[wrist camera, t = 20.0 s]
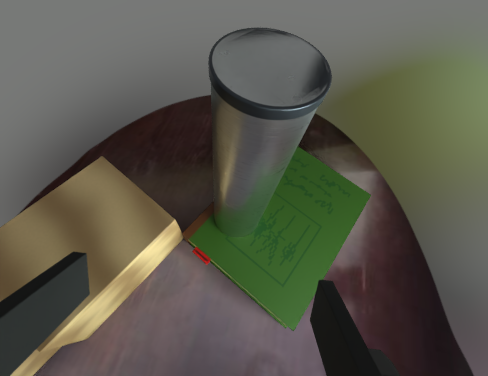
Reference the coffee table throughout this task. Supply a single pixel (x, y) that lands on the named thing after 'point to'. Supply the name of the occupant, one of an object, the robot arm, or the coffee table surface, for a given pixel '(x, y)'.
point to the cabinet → (88, 243)
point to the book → (285, 238)
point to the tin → (259, 117)
